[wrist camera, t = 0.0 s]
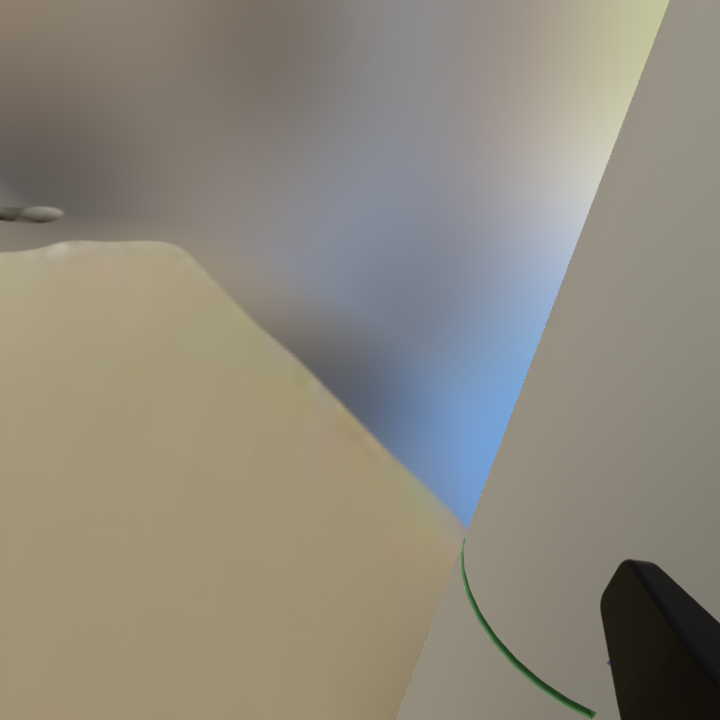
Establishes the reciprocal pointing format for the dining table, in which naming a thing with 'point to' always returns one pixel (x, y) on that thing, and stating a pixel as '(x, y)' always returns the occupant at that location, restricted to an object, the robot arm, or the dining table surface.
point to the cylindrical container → (602, 422)
